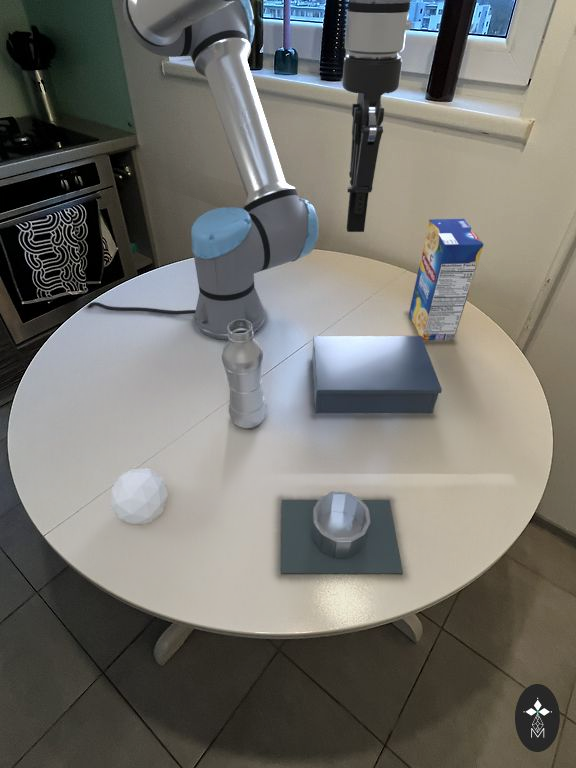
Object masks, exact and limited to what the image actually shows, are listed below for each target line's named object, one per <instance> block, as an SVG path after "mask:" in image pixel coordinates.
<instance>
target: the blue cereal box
mask: <svg viewBox="0 0 576 768" xmlns="http://www.w3.org/2000/svg"><path fill="white" fill-rule="evenodd" d="M484 246H485V245H484V243H483V241H482V240H481V238H480V237H479V236H478V234H476V232H475V231H474V230H473V228H472V227H471V226H470V224H469V223H468V222H467V220H466V219H465V218H436V219H435V218H433V219H432V218H431V219H430V218H429V219H428V223H427V227H426V233H425V238H424V242H423V247H422V251H421V257H420V259H419V264H418V265H419V266H418V270H417V275H416V280H415V284H414V287H413V292H412V298H411V301H410V307H409V311H408V315H409V318H410V320H411V323H414V326H415V329H416V331H417V333H418V336H422V339H423V341H455V337H456V334H457V332H458V328H459V324H460V321H461V318H462V315H463V311H464V309H465V305H466V303H467V299H468V296H469V292H470V289H471V286H472V283H473V280H474V277H475V273H476V270H477V268H478V263H479V261H480V258H481V255H482V251H483V248H484Z"/></svg>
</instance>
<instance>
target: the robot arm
mask: <svg viewBox="0 0 576 768" xmlns="http://www.w3.org/2000/svg"><path fill="white" fill-rule="evenodd" d="M347 1H348V2H347V9H346V19H345V34H344V49H345V50H346V52H348V53H347V54H346V56H345V57H344V59H343V70H342V82H341V83H342V88H343V89H344V90H345V91H347V92H349V93H352V94H357V98H356V103H352V107H351V117H352V126H351V148H350V149H351V151H350V167H349V173H348V176H349V178H350V180H349V184H350V186H347V193H349V199H348V207H347V208H348V209H347V219H346V232H347V233H364V232H365V227H366V226H365V225H366V219H367V217H366V216H367V209H368V203H369V201H368V200H369V194H370V193H372V191H373V183H374V178H375V171H376V166H377V160H378V154H379V148H380V143H381V139H382V135H383V133H384V127H383V125H382V123H383V122H384V117H385V116H384V115H385V108H384V107H382V99H381V98H382V96H383V95H384V94H391V93H394V92H396V91H397V90H398V89H399V87H400V81H401V74H402V66H403V59H402V56H401V55H399V53H402V52H403V50H404V49H405V42H406V36H407V35H406V31H409V30H411V29H412V25H413V22H412V20H410V19H409V11H410V8H411V1H412V0H347ZM122 12H123V19H124V21H125V24H126V27H127V28H128V31H129V33H130V34H131V36H132V37H133V38H134V40H135V41H136V42H137V43H138V44H139V45H140V46H141V47H142V48H144V49H145V50H147V51H149V52H151V53H152V54H155V55H157V56H160V57H164V58H165V57H166V58H180V57H181V58H182V57H190V58H191V60H192V63H193V66H194V69H195V71H196V72H197V73H198V74H199V75H201V76H204V77H205V78H206V80H207V83H208V86H209V90H210V92H211V95H212V98H213V101H214V104H215V106H216V110H217V112H218V116H219V118H220V121H221V125H222V127H223V131H224V134H225V136H226V139H227V142H228V145H229V148H230V151H231V153H232V157H233V160H234V162H235V165H236V168H237V172H238V175H239V177H240V180H241V183H242V186H243V190H244V192H245V195H246V199H245V202H244V204H243V207H239V206H229V207H226V206H223V207H222V206H221V207H217V208H214V209H210V210H208V211H207V212H204V213H203V214H201V215H200V216H198V217H197V218H196V219H195V221H194V222H193V224H192V226H191V230H190V234H191V252H192V254H193V260H194V264H195V266H194V267H195V272H196V277H197V283H198V288H199V289H198V291H199V293H198V298H197V302H196V307H195V309H185V310H184V309H183V310H169V309H159V308H153V307H151V308H150V307H138V306H135V307H134V306H110V305H106V304H104V303H101V302H97V301H93V302H90V303H89V304H88V305H87V308H88V309H90V308H93V307H99V308H102V309H104V310H108V311H119V312H147V313H157V314H167V315H194V317H195V318H194V319H195V324H196V327H197V329H198V331H200V332H201V333H202V334H203V335H205V336H206V337H208V338H212V339H215V340H223V341H224V340H225V341H229V339H228V325H229V324H230V323H231V322H232V321H234V320H238V319H245V320H248V321H250V322H251V323H252V327H253V333H254V334H255V333H257V332H258V331H259V330H260V329H261V328H262V327H263V325H264V324H265V323H264V322H265V309H264V306H263V303H262V301H261V299H260V296H259V294H258V292H257V290H256V286H255V275H256V274H257V273H259V272H260V273H261V272H262V271H263V272H264V271H266V270H269V269H272V268H275V267H278V266H281V265H284V264H288V263H293V262H296V261H298V260H299V259H301V258H304V257H307V256H308V255H310V254H311V253H312V252H313V251H314V249H315V247H316V245H317V242H318V241H317V240H318V238H319V220H318V216H317V212H316V209H315V208H314V206H313V204H311V202H310V201H309V200H308V199H305V198H303V197H301V198H300V197H299V194H298V191H297V188H296V187H295V186H293V185H291V184H289V183H287V181H286V178H285V174H284V171H283V168H282V165H281V162H280V159H279V156H278V154H277V153H278V152H277V150H276V147H275V144H274V140H273V138H272V134H271V131H270V127H269V125H268V122H267V118H266V115H265V113H264V110H263V106H262V103H261V100H260V97H259V94H258V91H257V88H256V84H255V82H254V78H253V75H252V72H251V70H250V66H249V63H248V59H249V57H250V54H251V51H252V48H251V46H252V43H253V41H254V38H255V24H254V22H253V20H254V19H255V18H254V11H253V8H252V4H251V1H250V0H123V2H122Z"/></svg>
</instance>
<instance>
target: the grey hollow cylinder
mask: <svg viewBox="0 0 576 768" xmlns="http://www.w3.org/2000/svg"><path fill="white" fill-rule="evenodd" d="M317 500H318V502H317V503H316V505H315V507H314V508H313V519H312V538H313V541H314V542H315V544H316V545H317V547H318V548H319V550H320V551H321V552H323V553H325V554H327V555H328V556H331V557H332V558H348V557H349V558H350V557H352V556H353V555H355V554H357V553H358V552H360V551H361V550H362V548H363V546H364V543H365V541H366V539H367V535H368V531H369V526H370V515H369V509H368V508H367V506H366V505H365V504H364V502H363V501H362V500H363V499H361V498H360V497H359V496H357V495H355V494H353V493H351V492H350V491H349V492H348V491H343V490H341V491H334V490H333V491H330V492H328V493H326V494H324V495H323V496H320V497H319V498H318V499H317Z"/></svg>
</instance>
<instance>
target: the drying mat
mask: <svg viewBox="0 0 576 768" xmlns="http://www.w3.org/2000/svg"><path fill="white" fill-rule="evenodd" d="M318 500H319V499H281V516H280V517H281V519H280V533H281V534H280V575H403V574H404V570H403V565H402V559H401V554H400V548H399V543H398V539H397V537H398V536H397V532H396V526H395V522H394V517H393V511H392V506H391V501H390V499H361V500H362V501H363V502H364V504H365V505H366V506H367V508H368V509H369V515H370V526H369V531H368V535H367V539H366V541H365V543H364V546H363V548H362V550H361V551H360V552H358V553H357V554H355V555H353V556H352V557H350V558H349V557H348V558H332V557H331V556H328V555H327V554H325V553H323V552H321V551H320V550H319V548H318V547H317V545H316V544H315V542H314V541H313V538H312V519H313V508H314V507H315V505H316V503H317V502H318Z"/></svg>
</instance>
